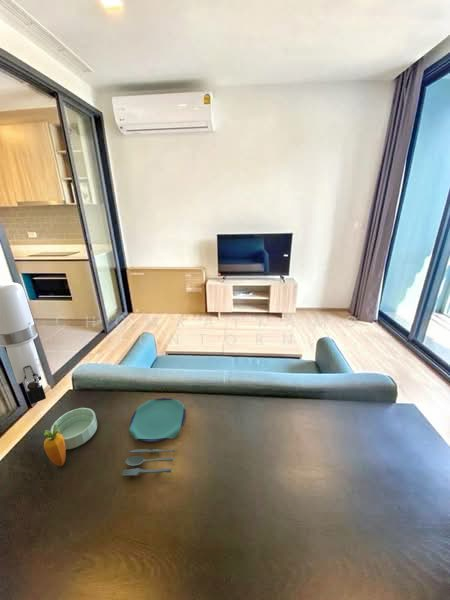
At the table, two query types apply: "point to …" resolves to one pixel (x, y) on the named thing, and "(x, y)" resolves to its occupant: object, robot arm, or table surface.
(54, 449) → the carrot
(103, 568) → the table surface
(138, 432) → the cutlery set
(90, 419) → the bowl
